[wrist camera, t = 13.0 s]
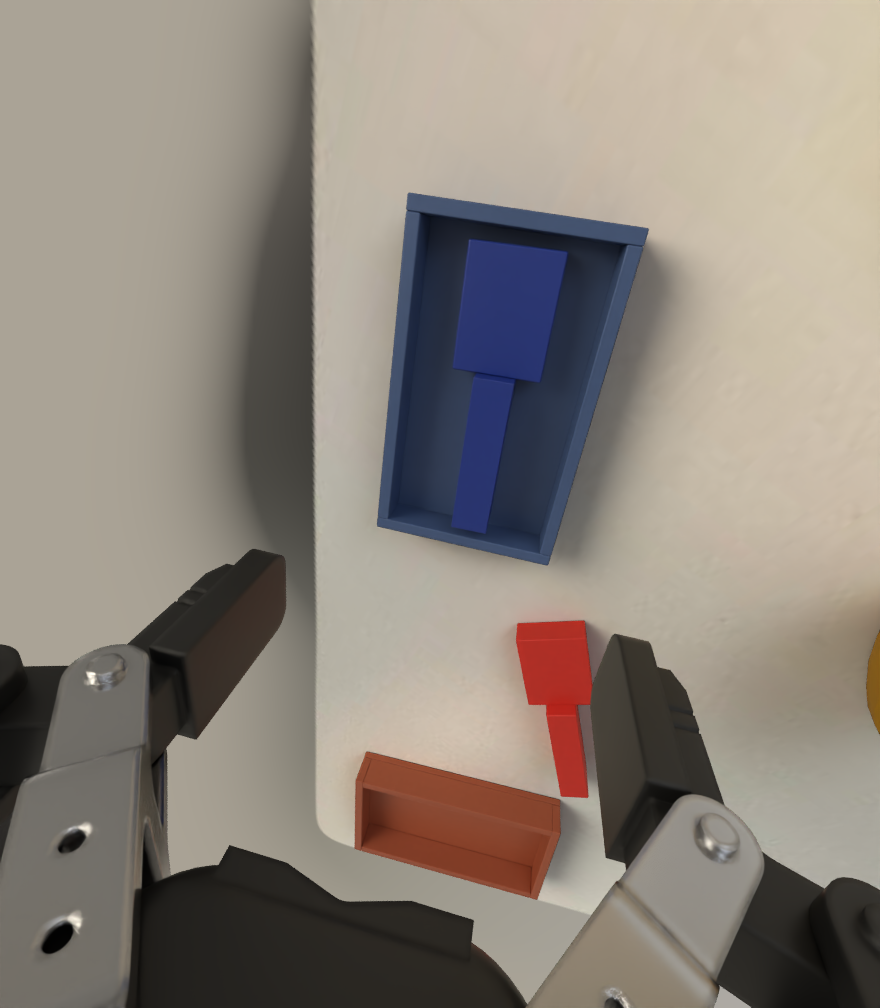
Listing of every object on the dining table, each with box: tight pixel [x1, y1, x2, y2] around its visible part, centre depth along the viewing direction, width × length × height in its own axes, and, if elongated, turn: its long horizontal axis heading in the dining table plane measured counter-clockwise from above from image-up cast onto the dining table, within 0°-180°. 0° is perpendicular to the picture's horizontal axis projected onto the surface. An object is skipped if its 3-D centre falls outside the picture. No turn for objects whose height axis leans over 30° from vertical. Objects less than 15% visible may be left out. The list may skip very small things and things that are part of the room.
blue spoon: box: [451, 239, 568, 534], centre depth 22 cm, size 13×4×2 cm, turn 173°
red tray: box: [355, 752, 561, 900], centre depth 38 cm, size 15×9×2 cm, turn 85°
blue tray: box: [377, 193, 649, 565], centre depth 23 cm, size 15×9×2 cm, turn 172°
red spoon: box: [516, 621, 593, 798], centre depth 31 cm, size 13×4×2 cm, turn 13°
